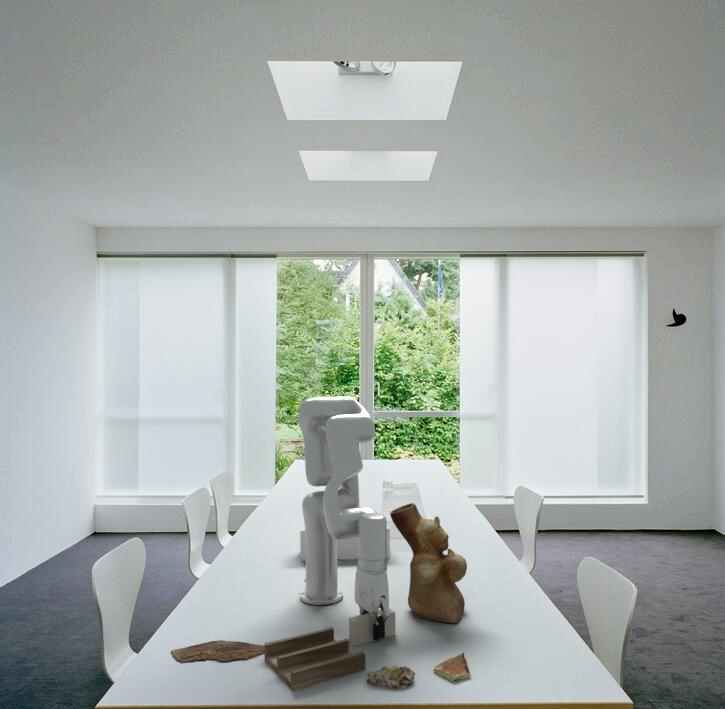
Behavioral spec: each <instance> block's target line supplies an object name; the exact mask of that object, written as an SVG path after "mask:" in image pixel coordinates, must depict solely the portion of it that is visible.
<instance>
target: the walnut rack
mask: <svg viewBox="0 0 725 709" xmlns="http://www.w3.org/2000/svg"><path fill="white" fill-rule="evenodd" d="M264 646H265V653H264V660H265V661H266V662H267V663H268V664H269V666H270V667H271V668H272V669H273V670H274V671H275V673H277V675H278V676H279V677H280V678H281V679H282V681H284V683H286V685H287V686H288V687H289V688H290V689H291V690H292V691H297V690H299V689H304V688H307V687H310V686H315V685H317V684H321V683H325V682H327V681H331V680H334V679H338V678H341V677H344V676H349V675H353V674H355V673H358V672H362V671H365V670H366V652H364V650H362V651H359V652H355V653H352V652H351V651H350V641H349V638H343V639H339V640H336V638H335V628H334V627H332V626H331V627H326V628H322V629H319V630H318V629H317V630H314V631H310V632H306V633H302V634H297V635H293V636H288V637H286V638H282V639H277V640H273V641H268V642H265V643H264Z"/></svg>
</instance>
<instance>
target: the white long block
mask: <svg viewBox="0 0 725 709" xmlns="http://www.w3.org/2000/svg"><path fill="white" fill-rule="evenodd" d="M299 532H300V533H299V534H300V537H299V538H300V539H299V540H300V542H299V543H300V545H299V548H300V552H299V553H300V555H299V557H300V562H301V561H306V545H305V523H304V522H300V530H299ZM337 559H340V560H358V537H354V538H348V539H340V540H338V539H337ZM387 559H391V529H390V526H389V524H388V522H387Z"/></svg>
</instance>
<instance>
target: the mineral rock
mask: <svg viewBox="0 0 725 709" xmlns="http://www.w3.org/2000/svg"><path fill="white" fill-rule="evenodd" d="M366 677H367V678H366V679H367V680H366V682H367V684H371V686H374V685H375V687H380V686H381V687H384V686H385V687H386V688H390V689H391V690H399V688H400V689H402V687H405V688H408V685H410V684H411V683H413V682H414V680H415V677H416V672H415V671H414V670H413V669H411V668H410V667H409V666H398V665H395V666H382V667H380V669H378V670H375V671H372V670H371V671H368V673H367V675H366Z"/></svg>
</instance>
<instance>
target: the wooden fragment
mask: <svg viewBox="0 0 725 709" xmlns="http://www.w3.org/2000/svg"><path fill="white" fill-rule="evenodd" d="M170 653H171V657H172V658H173V659H175V660H176V662H179V663H180V664H183V663H188V662H195V661H208V660H209V661H210V660H211V661H213V660H215V661H217V662H218V661H219V662H228V661H235V660H244V661H245V660H251V659H253V658H256V657H258V656H261V655H263V654H265V644H254V643H250V642H249V643H248V642H243V641H234V640H233V641H230V640H221V639H219V640H211V641H208V642H207V641H206V642H203V643H199V644H198V643H197V644H195V645H190V646H186V647H181V648H174V649H171V651H170Z"/></svg>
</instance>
